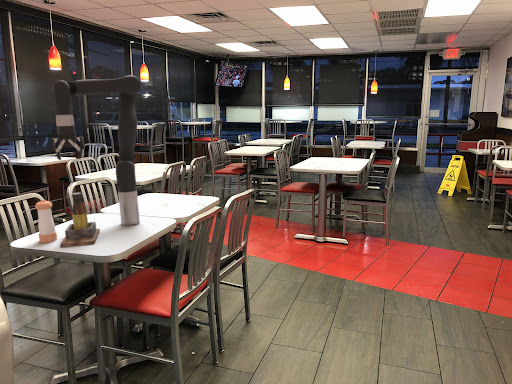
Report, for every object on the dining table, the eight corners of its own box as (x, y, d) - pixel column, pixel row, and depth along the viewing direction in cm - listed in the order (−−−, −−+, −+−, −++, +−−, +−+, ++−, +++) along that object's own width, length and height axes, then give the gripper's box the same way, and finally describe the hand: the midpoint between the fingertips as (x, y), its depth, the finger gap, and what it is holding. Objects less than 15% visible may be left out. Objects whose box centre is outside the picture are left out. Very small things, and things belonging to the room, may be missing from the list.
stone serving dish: (99, 231, 201) (98, 220, 200) (94, 243, 182) (93, 231, 181) (69, 234, 197) (67, 223, 196) (60, 247, 178) (59, 235, 177)
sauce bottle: (81, 232, 195) (76, 191, 191) (92, 232, 193) (87, 191, 190) (71, 236, 189) (66, 194, 185) (83, 237, 187) (78, 194, 183)
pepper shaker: (52, 236, 194) (47, 197, 190) (59, 239, 190) (54, 199, 186) (36, 240, 189) (31, 200, 185) (43, 243, 184) (38, 202, 180)
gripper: (82, 124, 196) (86, 157, 199) (50, 125, 192) (55, 159, 196) (80, 124, 189) (84, 159, 192) (47, 125, 185) (51, 161, 188)
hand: (69, 159), depth 194 cm, fingers open, 8 cm apart
